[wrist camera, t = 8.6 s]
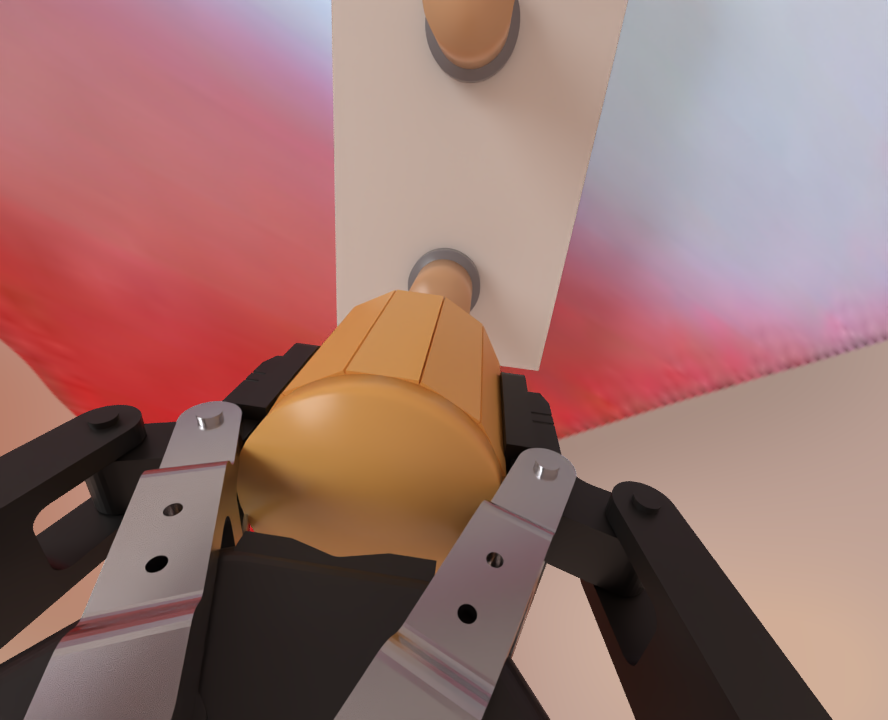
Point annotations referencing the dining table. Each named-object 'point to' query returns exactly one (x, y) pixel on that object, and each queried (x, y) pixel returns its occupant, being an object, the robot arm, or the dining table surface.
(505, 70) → the plate with orange knobs
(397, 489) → the cap
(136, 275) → the dining table surface
